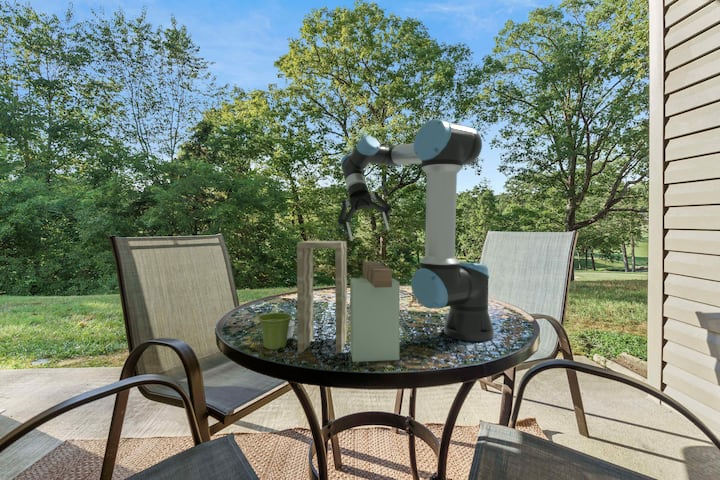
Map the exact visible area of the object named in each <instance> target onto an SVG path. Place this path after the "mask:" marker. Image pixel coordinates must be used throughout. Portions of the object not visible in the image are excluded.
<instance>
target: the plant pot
mask: <svg viewBox="0 0 720 480" xmlns="http://www.w3.org/2000/svg"><path fill="white" fill-rule="evenodd" d="M292 317H293V316H292V314H290V313H285V312H269V313H265V314H260V315H259V316H258V317H257V318H258V320H259V324H260V327H261V333H262V340H263V342H262V343H263V347H264V348H266V349H268V350H279V349H280V348H282V349H283V348H285V347H286V345H287V341H288V339H287V333H288V326H289V323H290V320H291V319H292Z"/></svg>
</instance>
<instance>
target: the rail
mask: <svg viewBox="0 0 720 480" xmlns="http://www.w3.org/2000/svg"><path fill="white" fill-rule="evenodd" d="M362 276H363V277H364V279H367V280H368V281H369V282H370V283H371V284H372V285H373V286H374V287H375V288H378V287H392V278H393V270H392V269H391V268H390V267H387V266H385V265H384V264H382V263H380V262H378V261H362Z"/></svg>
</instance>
